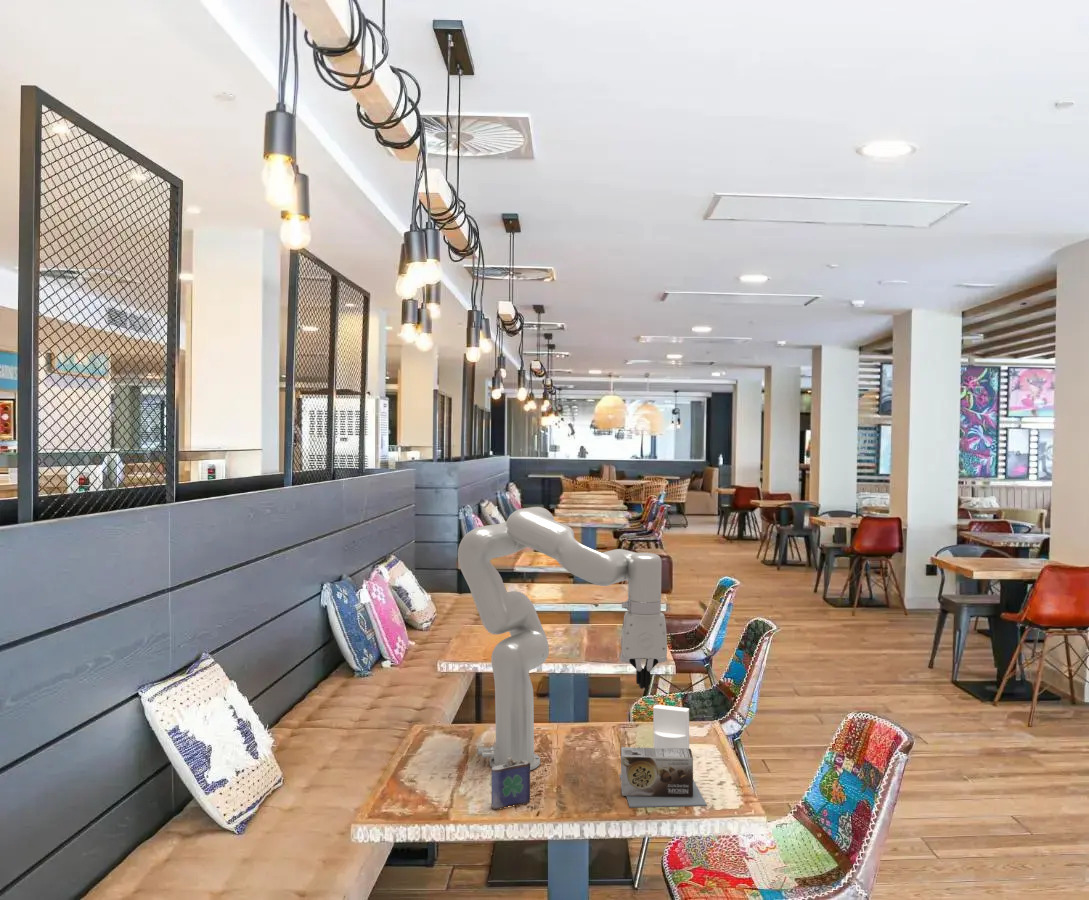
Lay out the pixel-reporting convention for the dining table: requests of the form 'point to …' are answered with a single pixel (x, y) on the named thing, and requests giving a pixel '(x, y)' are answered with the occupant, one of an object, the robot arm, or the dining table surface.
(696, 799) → the mat
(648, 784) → the coffee box
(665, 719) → the cylinder with rectangular tab
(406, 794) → the dining table surface
